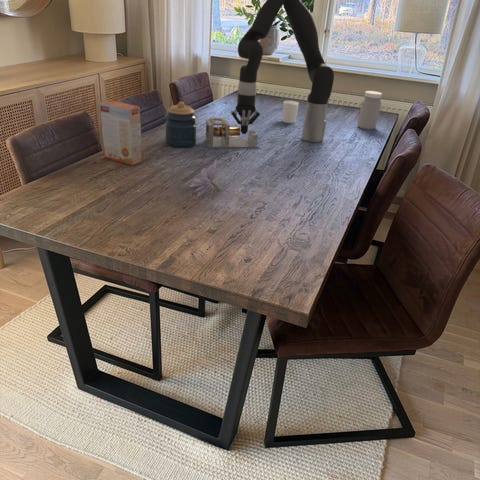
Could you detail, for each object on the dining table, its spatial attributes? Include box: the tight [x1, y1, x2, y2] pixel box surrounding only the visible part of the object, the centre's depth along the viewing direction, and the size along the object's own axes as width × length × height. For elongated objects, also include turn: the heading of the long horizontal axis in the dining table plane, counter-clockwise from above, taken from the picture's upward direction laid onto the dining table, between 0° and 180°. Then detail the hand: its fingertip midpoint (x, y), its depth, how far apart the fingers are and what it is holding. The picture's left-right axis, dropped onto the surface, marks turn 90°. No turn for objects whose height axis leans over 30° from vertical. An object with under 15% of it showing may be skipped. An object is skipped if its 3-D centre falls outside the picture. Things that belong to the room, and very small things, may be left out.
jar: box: [356, 90, 383, 131], centre depth 228 cm, size 10×10×18 cm
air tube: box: [213, 126, 241, 138], centre depth 189 cm, size 13×4×4 cm, turn 103°
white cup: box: [282, 100, 300, 124], centre depth 229 cm, size 8×8×10 cm
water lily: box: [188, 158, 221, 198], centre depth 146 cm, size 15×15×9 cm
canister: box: [164, 100, 197, 149], centre depth 184 cm, size 13×13×18 cm
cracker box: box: [99, 100, 143, 166], centre depth 161 cm, size 14×6×21 cm, turn 59°
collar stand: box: [204, 117, 260, 149], centre depth 190 cm, size 22×11×10 cm, turn 103°
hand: (243, 133), depth 191 cm, fingers closed
